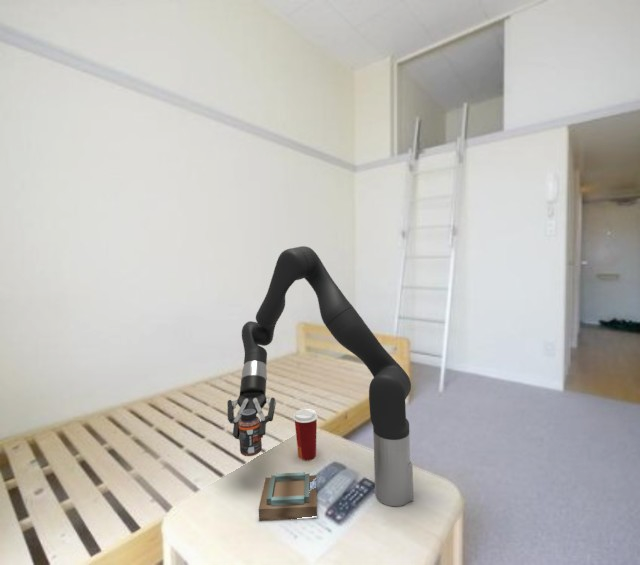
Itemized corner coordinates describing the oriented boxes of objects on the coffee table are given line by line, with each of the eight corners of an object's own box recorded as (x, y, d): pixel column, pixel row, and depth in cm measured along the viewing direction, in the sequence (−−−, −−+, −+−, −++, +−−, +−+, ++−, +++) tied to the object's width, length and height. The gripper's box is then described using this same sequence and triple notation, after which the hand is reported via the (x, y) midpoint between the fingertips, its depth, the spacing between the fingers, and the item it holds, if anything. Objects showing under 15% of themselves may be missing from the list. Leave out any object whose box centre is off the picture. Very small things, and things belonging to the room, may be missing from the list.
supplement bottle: (257, 458, 91) (254, 417, 91) (236, 456, 93) (233, 416, 92) (265, 446, 97) (262, 407, 97) (245, 444, 99) (242, 406, 98)
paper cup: (323, 452, 111) (322, 410, 110) (310, 465, 104) (308, 420, 103) (303, 446, 115) (302, 405, 114) (290, 458, 109) (288, 415, 108)
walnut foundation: (316, 485, 95) (316, 470, 95) (317, 518, 83) (316, 500, 83) (266, 488, 95) (265, 472, 94) (259, 521, 83) (258, 503, 82)
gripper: (227, 375, 101) (218, 434, 90) (276, 372, 101) (273, 431, 90) (232, 386, 107) (225, 443, 96) (279, 383, 107) (277, 440, 96)
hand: (248, 437), depth 93 cm, fingers closed on supplement bottle, 6 cm apart
